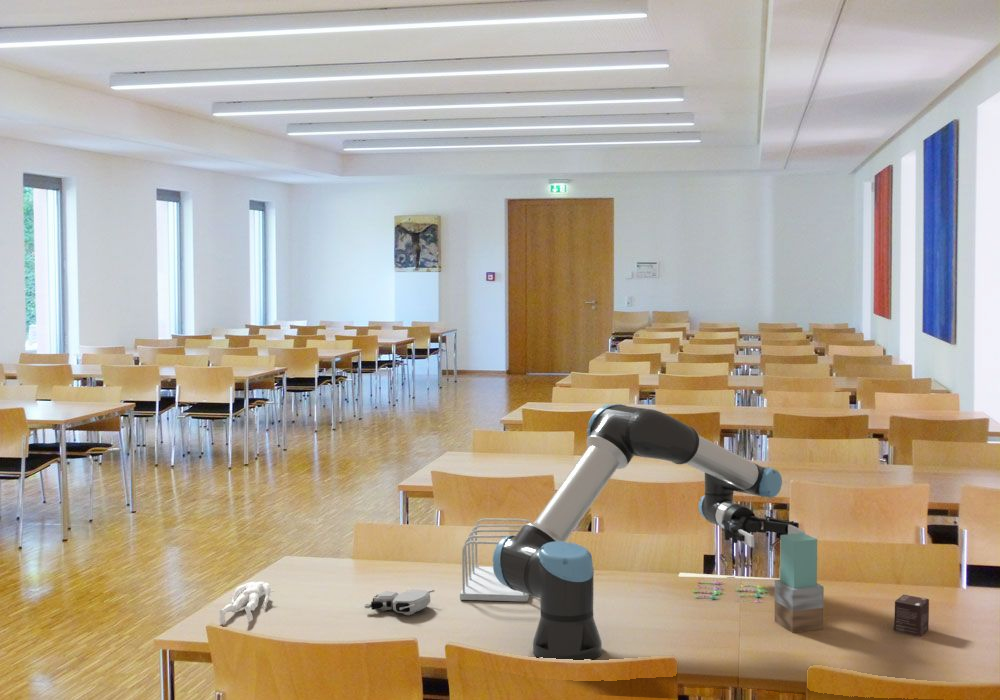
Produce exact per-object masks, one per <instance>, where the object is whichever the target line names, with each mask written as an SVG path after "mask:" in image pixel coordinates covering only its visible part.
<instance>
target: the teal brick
mask: <svg viewBox="0 0 1000 700" xmlns="http://www.w3.org/2000/svg"><path fill="white" fill-rule="evenodd" d="M779 539H780V542H779V543H780V546H779V547H780V549H779V550H780V557H779V558H780V559H779V560H780V561H779V562H780V563H779V564H780V568H779V569H780V570H779V580H780V581H781V582H783V583H785V584H787V585H788V586H790V587H792V588H802V587H811V586H817V584H818V538H815V537H813V536H811V535H809V534H806V533H805V534H804V533H797V534H780V537H779Z"/></svg>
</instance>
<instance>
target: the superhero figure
mask: <svg viewBox="0 0 1000 700" xmlns="http://www.w3.org/2000/svg"><path fill="white" fill-rule="evenodd" d="M273 592H276V589H274V590H271V585H270V583H268V582H265V581H258V582H257V581H250V582H246V583H245V584H241V585H240V586H237V587H236V588H235V590H234V592H233V593H232V594H231V596H232V598H231V597H230V598H229V599H230V603H229V604H226V605H225V606H224V607H223V608H221V609H220V610H219V620H218V621H219V624H220V625H222V624H223V625H222V626H225V625H226V613H235V612H239V611H240V610H241V609H242V608H243V606H244V610H245V613H246V620H247V621H248V622H252V621H253V619H254V617H253V614H252V611H253V612H254V611H255V609H256V608H257V607H258V605H259V601H260V600H259V598H261V597H262V596H264V595H265V598H264V600H263V603H262V605H261V608H263V609H264V610H267V609H266V608H267V605H268V602H269V601H270V597H272V596H274V595H275V593H273ZM271 593H273V594H271ZM245 605H246V606H245Z"/></svg>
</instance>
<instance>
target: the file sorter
mask: <svg viewBox="0 0 1000 700" xmlns="http://www.w3.org/2000/svg"><path fill="white" fill-rule="evenodd" d="M483 521H484V522H525V523H526V524H528V523H532V522H531V521H530V520H528V519H527V518H526V519H525V518H493V517H491V518H481V519H478V520H477V522H476V523H475V525H474V527H473V528H472V530H471V532H470V533H469V535H468V537H467V538H466V539H465V541H464V545H463V547H462V551H461V552H462V553H461V554H462V558H461V559H462V564H461V565H462V566H461V567H462V575H461V576H462V589H461V591H460V593H459V600H462V601H491V602H492V601H494V602H495V601H496V602H498V601H499V602H519V603H521V602H528V601H529V598H530V595H529V594H526V593H523V592H520V591H515V590H512V589H510V588H509V587H507V586H505V585H503V584H502V583H500V582H499V580H498V579H497V578H496V576H495V574H494V570H493V566H478V564H479V563H478V559H479V558H478V544H482V545H497V544H498V543H499V542H500V541H493V540H492V541H491V540H490V541H487V540H486V541H485V540H484V541H482V540H478V539H489V538H490V539H491V538H492V539H499V538H500V539H501V538H502V539H503V538H504V537H506V536H511V535H512V534H491V535H490V534H485V535H482V534H481V535H479V534H478V533H518V532H519V531H520V530H521V529H517V528H522V527H523V526H524V525H525V524H480V523H481V522H483ZM478 528H503V529H478ZM505 528H515V529H505ZM513 535H514V536H516V535H517V534H513ZM474 548H475V549H474ZM474 550H475V551H474Z"/></svg>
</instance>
